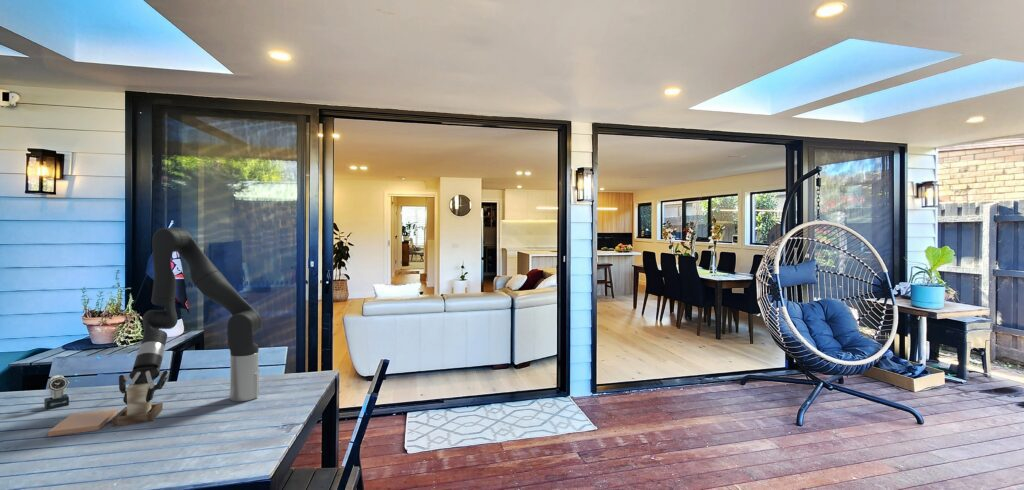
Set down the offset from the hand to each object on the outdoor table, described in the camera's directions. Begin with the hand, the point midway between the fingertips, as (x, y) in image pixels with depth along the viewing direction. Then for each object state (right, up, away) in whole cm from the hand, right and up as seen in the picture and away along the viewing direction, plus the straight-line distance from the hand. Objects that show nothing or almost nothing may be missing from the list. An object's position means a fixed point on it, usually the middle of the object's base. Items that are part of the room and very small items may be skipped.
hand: (137, 401), depth 146 cm
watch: (-37, -5, +10) cm, 39 cm away
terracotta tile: (-14, -6, -4) cm, 16 cm away
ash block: (-1, -4, +2) cm, 5 cm away
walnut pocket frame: (-1, -6, +2) cm, 6 cm away
